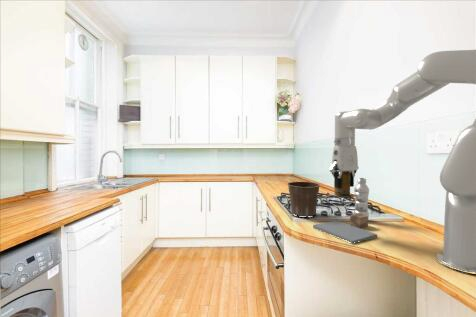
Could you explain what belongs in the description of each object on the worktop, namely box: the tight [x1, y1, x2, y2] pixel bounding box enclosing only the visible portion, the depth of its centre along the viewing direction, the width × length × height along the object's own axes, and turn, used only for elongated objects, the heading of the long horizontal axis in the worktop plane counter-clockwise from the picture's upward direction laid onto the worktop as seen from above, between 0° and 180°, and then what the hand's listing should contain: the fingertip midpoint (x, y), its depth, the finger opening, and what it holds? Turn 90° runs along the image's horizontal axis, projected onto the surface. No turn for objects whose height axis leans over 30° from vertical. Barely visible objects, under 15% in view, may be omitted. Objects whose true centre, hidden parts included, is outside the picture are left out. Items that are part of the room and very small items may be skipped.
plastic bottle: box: [353, 177, 370, 219], centre depth 117 cm, size 6×7×20 cm
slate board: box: [312, 220, 378, 243], centre depth 103 cm, size 20×14×1 cm
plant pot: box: [286, 181, 321, 217], centre depth 127 cm, size 16×16×16 cm
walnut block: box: [349, 213, 369, 229], centre depth 110 cm, size 5×5×5 cm
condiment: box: [330, 169, 358, 198], centre depth 101 cm, size 7×8×12 cm
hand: (344, 186), depth 101 cm, fingers closed on condiment, 6 cm apart
